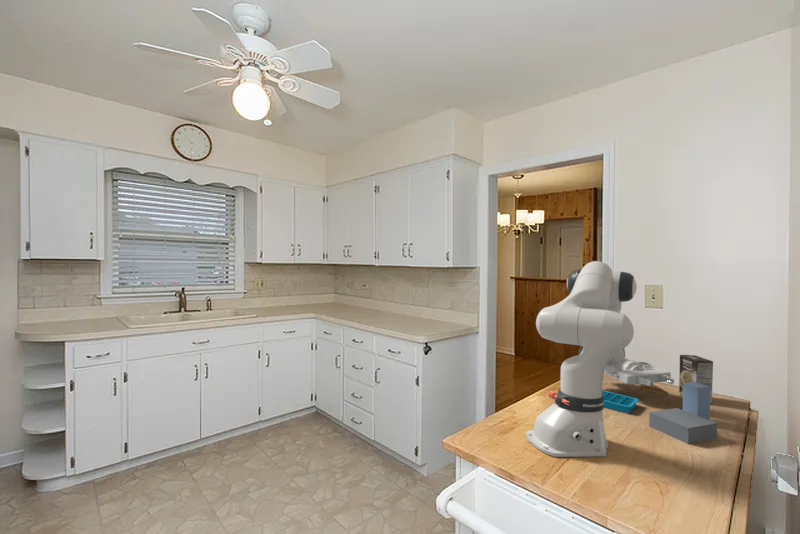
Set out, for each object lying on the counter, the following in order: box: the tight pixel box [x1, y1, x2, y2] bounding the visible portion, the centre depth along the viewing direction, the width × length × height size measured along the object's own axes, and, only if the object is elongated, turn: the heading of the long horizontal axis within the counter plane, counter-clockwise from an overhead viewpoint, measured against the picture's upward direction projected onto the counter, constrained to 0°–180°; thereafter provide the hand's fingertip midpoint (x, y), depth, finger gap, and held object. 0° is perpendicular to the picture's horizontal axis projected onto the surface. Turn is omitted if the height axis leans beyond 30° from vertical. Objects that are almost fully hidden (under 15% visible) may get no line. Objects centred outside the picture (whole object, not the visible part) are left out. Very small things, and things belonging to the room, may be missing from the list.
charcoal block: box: [648, 407, 718, 445], centre depth 114 cm, size 12×12×5 cm
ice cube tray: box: [602, 389, 640, 414], centre depth 139 cm, size 12×20×3 cm, turn 43°
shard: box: [638, 384, 670, 396], centre depth 153 cm, size 11×8×2 cm
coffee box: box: [678, 354, 714, 404], centre depth 143 cm, size 9×6×16 cm
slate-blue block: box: [682, 382, 711, 420], centre depth 123 cm, size 5×5×12 cm
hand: (662, 382), depth 135 cm, fingers open, 8 cm apart
